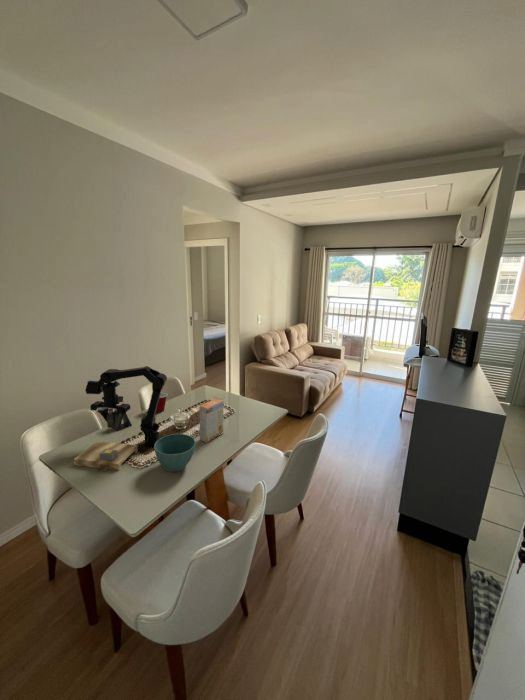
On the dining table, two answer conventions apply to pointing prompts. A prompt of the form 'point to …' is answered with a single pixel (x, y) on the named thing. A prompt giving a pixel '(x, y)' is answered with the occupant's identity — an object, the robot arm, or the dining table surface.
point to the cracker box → (211, 419)
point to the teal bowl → (174, 451)
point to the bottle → (110, 419)
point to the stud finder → (108, 454)
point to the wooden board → (93, 460)
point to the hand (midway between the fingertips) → (111, 422)
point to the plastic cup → (161, 402)
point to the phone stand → (125, 420)
